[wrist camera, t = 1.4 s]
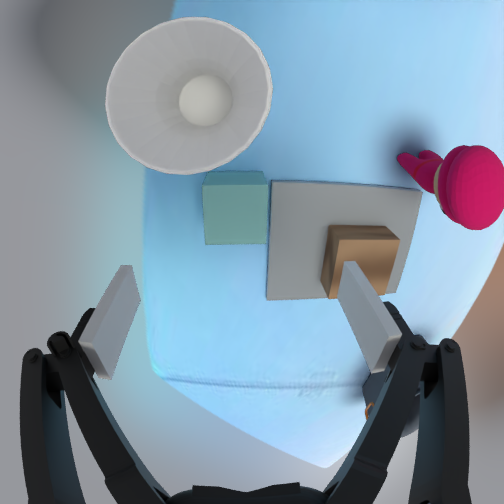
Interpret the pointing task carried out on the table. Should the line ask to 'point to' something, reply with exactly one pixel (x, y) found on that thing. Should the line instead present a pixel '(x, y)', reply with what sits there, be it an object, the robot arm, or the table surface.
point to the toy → (461, 183)
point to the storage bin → (373, 391)
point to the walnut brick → (359, 255)
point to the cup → (188, 95)
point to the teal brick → (235, 207)
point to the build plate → (316, 229)
